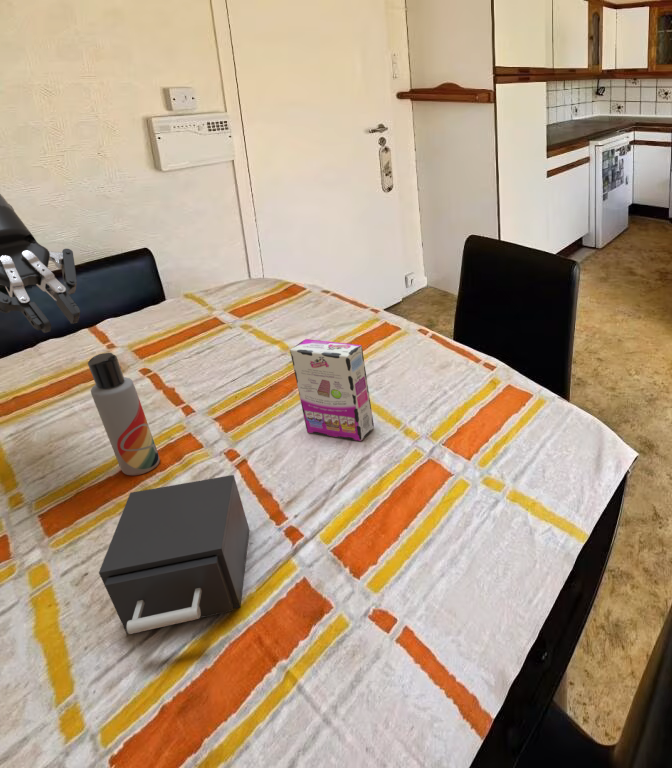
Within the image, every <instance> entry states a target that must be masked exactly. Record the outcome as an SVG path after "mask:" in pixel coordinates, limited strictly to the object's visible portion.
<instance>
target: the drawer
mask: <svg viewBox="0 0 672 768" xmlns="http://www.w3.org/2000/svg"><path fill="white" fill-rule="evenodd" d="M104 588H105V589H107V590H106V591H107V594H108V596H109V598H110V600H111V602H112V603H111V604H112V605H113V607H114V609H115V611H116V614H117V613H118V614H117V615H118V618H119V621H120V622H121V624H122V627H123V626H124V627H123V629H124V631H125V633H126V635H131V634H136V633H140V632H141V633H142V632H145V631H149V630H154V629H159V628H163V627H168V626H172V625H177V624H181V623H186V622H190V621H195V620H199V619H201V618H207V617H211V616H216V615H220V614H224V613H229V612H232V611H233V610H234V609H233V601H232V598H231V595H230V592H229V589H228V586H227V583H226V580H225V576H224V573H223V570H222V567H221V564H220V561H219V558H218V556H216V555H213V556H208V557H203V558H198V559H193V560H188V561H183V562H178V563H173V564H168V565H163V566H158V567H153V568H148V569H143V570H138V571H133V572H128V573H123V574H121V575H118V576H113V577H108V578H107V580H106V583H105V585H104Z"/></svg>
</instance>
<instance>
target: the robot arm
mask: <svg viewBox="0 0 672 768" xmlns="http://www.w3.org/2000/svg"><path fill="white" fill-rule="evenodd" d="M49 262H52V263H54V266H55V267H56V268H57V269H59V270H61V273H62V280H63V281H62V282H63V283H62V282H60V281H59V280H58V279H57V277H56V276H55V274H54V273H53V272H52V271H51V270H50V269H49ZM77 284H78V277H77V271H76V265H75V258H74V252H73V250H72V249H70V248H63V249H62V250H61V251H52V250H51V251H49V249H48V248H47V247H45V246H43V245H42V244H40V243H39V242H38V241H37V239H36V238H35V236H34V235H33V233H31V231H30V229H28V227H27V226H26V225H25V223H24V222H23V221H22V219H21V218H20V217H19V215H18V214H17V213H16V211H15V209H14V208H13V205H11V204H10V203H8V201H7V200H6V199H5V197H4V196H3V195H2V194H1V193H0V285H1V286H3V287H5V289H6V292H7V293H8V295H7V294H6V293H4V292H2V291H1V290H0V313H2V314H8V313H11V312H20V313H22V314H23V316H24V318H26V319H27V321H28V322H29V324H30V325H31V327H33V329H35V330H36V331H41V332H42V333H44V334H46V333H49V332H51V329H52V323H51V321H50V320H49V319H48V318H47V316H46V315H45V314H44V312H43V310H41V308H40V307H39V306H38V304H37V303H36V302H35V301H31V299H30V296H29V294H28V292H27V291H26V289H25V287H27V286H32V285H33V286H34V285H36V286H37V287H38V288H39V289H40V290H41V291H42V292H45V293H46V294H48V295H49V296H50V297H51V298H52V299H53V300H54V301H55V304H56V306H57V307H58V308H59V310H60V311H61V313H62V314H63V316H65V317H66V319H67V321H69V323H70V324H72V325H74V324H77V323H79V320H80V316H81V308H80V307H79V306H78V304H77V303H76V302H75V301H74V299H73V298H72V296H71V295H74V294H75V293H76V290H77Z"/></svg>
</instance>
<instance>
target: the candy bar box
mask: <svg viewBox="0 0 672 768" xmlns="http://www.w3.org/2000/svg"><path fill="white" fill-rule="evenodd" d="M289 352H290V357H291V363H292V366H293V372H294V376H295V380H296V386H297V390H298V395H299V400H300V405H301V410H302V415H303V419H304V424H305V429H306V432H307V433H309V434H313V435H314V434H315V435H320V436H328V437H334V438H339V439H345V440H350V441H351V440H352V441H358V442H362V441H363V440H364V439H365V438H366V437H367V436H368V435H369V434H370V433H371V432H372V431H373V430H374V428H375V425H374V418H373V417H374V416H373V411H372V404H371V398H370V391H369V386H368V378H367V371H366V365H365V358H364V351H363V345H362V344H354V343H348V342H347V343H346V342H337V341H328V340H320V339H319V340H318V339H310V338H305V339H304V340H302V341H300V342H299V343H298V344H296V345H294V346H293V347H291V348H290V349H289Z"/></svg>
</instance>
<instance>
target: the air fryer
mask: <svg viewBox="0 0 672 768" xmlns="http://www.w3.org/2000/svg"><path fill="white" fill-rule="evenodd" d="M238 488H239V487H238V484H237V481H236V478H235V475H234V474H231V475H225V476H219V477H213V478H208V479H207V478H206V479H201V480H196V481H190V482H183V483H179V484H172V485H167V486H161V487H155V488H150V489H143V490H138V491H137V490H136V491H133V492H132V491H131V492H129V495H128V497H127V500H126V503H125V505H124V508H123V510H122V513H121V515H120V518H119V521H118V522H117V526H116V528H115V531H114V533H113V536H112V538H111V540H110V543H109V546H108V548H107V551H106V554H105V556H104V558H103V561H102V563H101V565H100V568H99V571H98V574H99V576H100V579H101V581H102V583H103V585H104V586H105V583H106V580H107V578H108V577H113V576H118V575H121V574H123V573H128V572H133V571H138V570H143V569H148V568H153V567H158V566H163V565H168V564H173V563H178V562H183V561H188V560H193V559H198V558H203V557H208V556H213V555H216V556H218V558H219V561H220V564H221V567H222V570H223V573H224V576H225V580H226V583H227V586H228V589H229V592H230V595H231V598H232V601H233V610H234V609H239V608H241V605H242V596H243V589H244V579H245V572H246V571H245V570H246V562H247V554H248V545H249V537H250V527H249V522H248V519H247V515H246V512H245V510H244V509H245V508H244V506H243V502H242V498H241V495H240V492H239V489H238ZM105 589H106V588H105ZM106 591H107V589H106ZM116 614H117V615H118V613H117V612H116ZM122 627H123V628H124V626H123V625H122Z"/></svg>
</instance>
